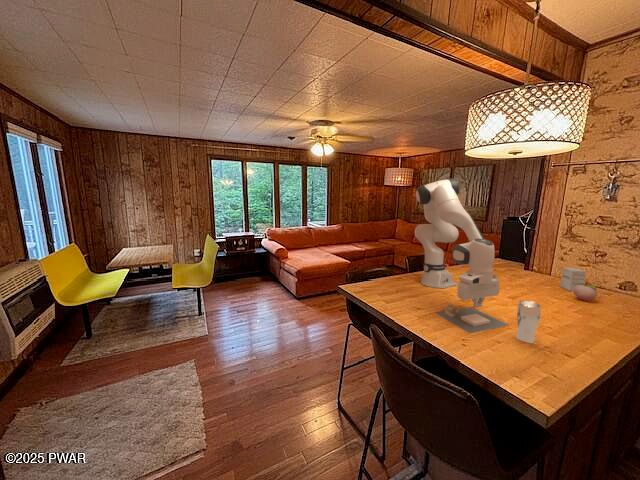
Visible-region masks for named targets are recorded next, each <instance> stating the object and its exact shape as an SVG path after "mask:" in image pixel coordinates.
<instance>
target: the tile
mask: <svg viewBox="0 0 640 480" xmlns="http://www.w3.org/2000/svg"><path fill="white" fill-rule="evenodd" d="M461 320H462V321H464V322H466V323H468V324H469V325H471V326H473V327H476V326H481V325H487V324H490V320H488V319H486V318H484V317H482V316H480V315H478V314H472V315H467V316H461Z"/></svg>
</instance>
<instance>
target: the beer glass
mask: <svg viewBox="0 0 640 480" xmlns="http://www.w3.org/2000/svg"><path fill="white" fill-rule="evenodd" d="M517 305H518V306H517V310H516V322H517V330H516V331H517V332H516V334H515V338H516V339H517V340H518V341H521V342H523V343H527V344H530V345H534V344H536V337H535V335H536V331H537V328H538V326H539V324H540V319H541V310H542V307H541V305H540V304H539V303H537V302H534V301H528V300H519V301H518V304H517Z"/></svg>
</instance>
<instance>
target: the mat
mask: <svg viewBox="0 0 640 480" xmlns="http://www.w3.org/2000/svg"><path fill="white" fill-rule="evenodd" d="M435 314H436V315H438V316H439V317H441V318H443V319H444V320H446V321H448V322H450V323H451V324H452V325H455V326H456V327H458V328H460V329H461V330H463V331H465V332H467V333H469V334H473V333H478V332H483V331H488V330H493V329H497V328H502V327H508V326H510V324H509V323H506V322H504V321H502V320H499V319H497V318H495V317H493V316H491V315H489V314H486V313H484V312H482V311H481V310H478V309H476V308H474V307H471V306H469V307H464V308H459V311H458V316H455V317H450V316H448V315H447V314H445V310H444V311H438V312H435ZM472 314H478V315H480V316H482V317H484V318H486V319H488V320H490V324H487V325H481V326H476V327H473V326H471V325H469V324H468V323H466V322H464V321H462V320H461V316H467V315H472Z"/></svg>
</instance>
